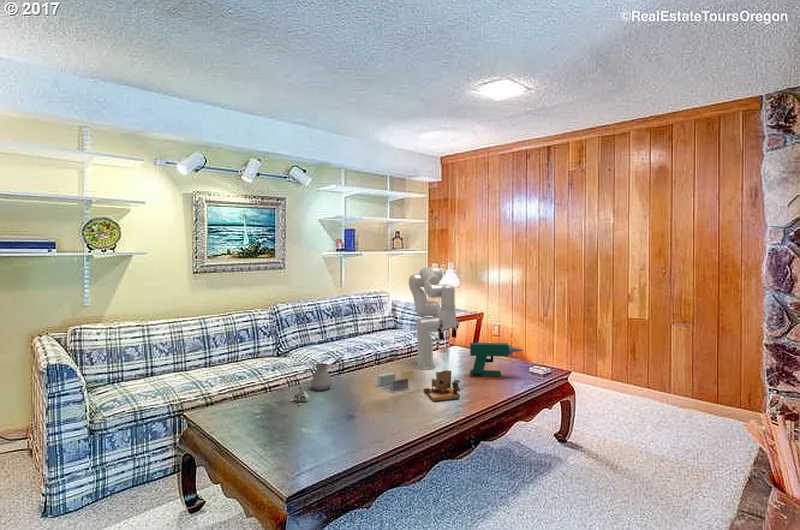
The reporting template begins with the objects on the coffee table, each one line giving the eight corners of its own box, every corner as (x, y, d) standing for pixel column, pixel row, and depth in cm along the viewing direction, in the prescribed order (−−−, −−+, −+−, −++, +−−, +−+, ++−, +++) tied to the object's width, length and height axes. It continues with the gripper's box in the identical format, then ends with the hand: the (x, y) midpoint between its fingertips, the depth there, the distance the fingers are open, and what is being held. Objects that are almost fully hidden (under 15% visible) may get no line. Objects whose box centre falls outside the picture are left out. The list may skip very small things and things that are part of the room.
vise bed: (376, 386, 250) (376, 375, 249) (392, 382, 256) (392, 372, 256) (392, 393, 236) (392, 382, 236) (409, 389, 243) (409, 378, 243)
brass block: (401, 380, 260) (401, 370, 260) (409, 379, 264) (409, 368, 264) (405, 382, 257) (405, 371, 257) (413, 380, 261) (413, 370, 261)
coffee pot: (319, 392, 238) (319, 364, 238) (306, 388, 245) (306, 360, 245) (350, 384, 254) (350, 357, 253) (337, 380, 261) (336, 354, 261)
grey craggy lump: (284, 402, 222) (284, 387, 222) (294, 397, 231) (294, 382, 230) (300, 404, 219) (300, 388, 219) (310, 399, 227) (310, 384, 227)
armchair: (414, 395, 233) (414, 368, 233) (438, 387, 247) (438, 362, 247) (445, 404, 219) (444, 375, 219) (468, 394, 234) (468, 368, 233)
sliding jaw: (377, 384, 249) (377, 375, 249) (392, 381, 255) (392, 372, 255) (380, 385, 247) (380, 376, 247) (395, 382, 253) (395, 373, 253)
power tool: (523, 377, 268) (523, 343, 267) (525, 380, 261) (525, 345, 260) (469, 375, 271) (469, 342, 270) (469, 378, 264) (469, 344, 263)
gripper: (454, 306, 261) (454, 335, 261) (431, 308, 251) (431, 339, 251) (463, 307, 255) (463, 337, 255) (440, 309, 245) (440, 341, 245)
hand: (447, 338), depth 253 cm, fingers open, 9 cm apart
